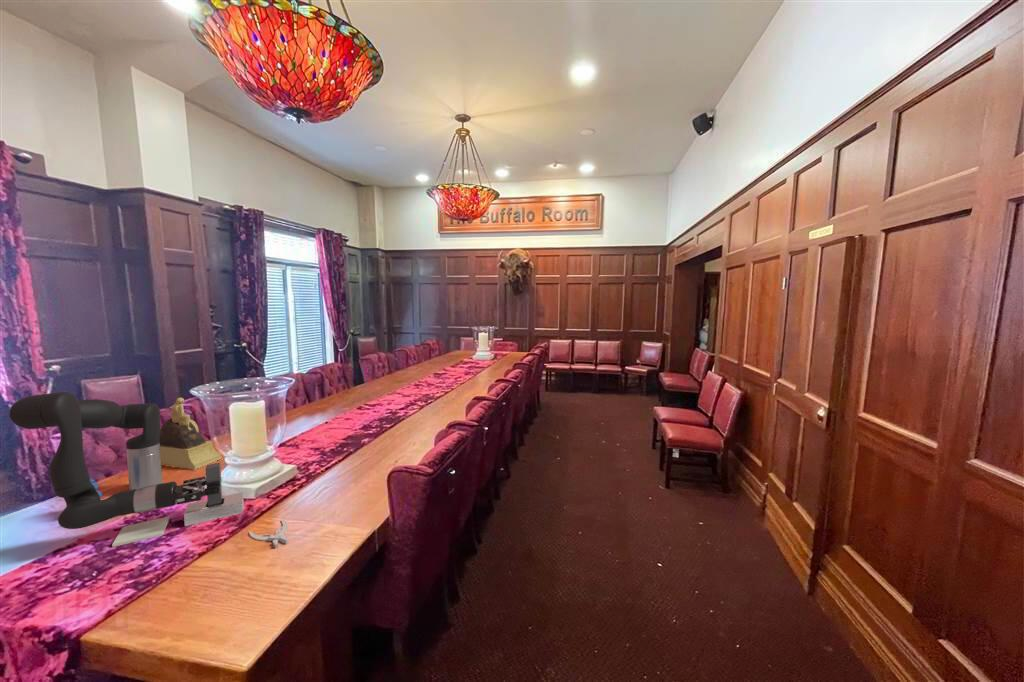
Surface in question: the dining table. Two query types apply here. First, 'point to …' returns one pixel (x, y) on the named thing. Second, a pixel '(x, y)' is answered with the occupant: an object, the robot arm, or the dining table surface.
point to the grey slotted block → (213, 509)
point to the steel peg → (214, 483)
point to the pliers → (275, 538)
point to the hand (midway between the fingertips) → (220, 484)
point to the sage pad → (141, 531)
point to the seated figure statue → (184, 442)
